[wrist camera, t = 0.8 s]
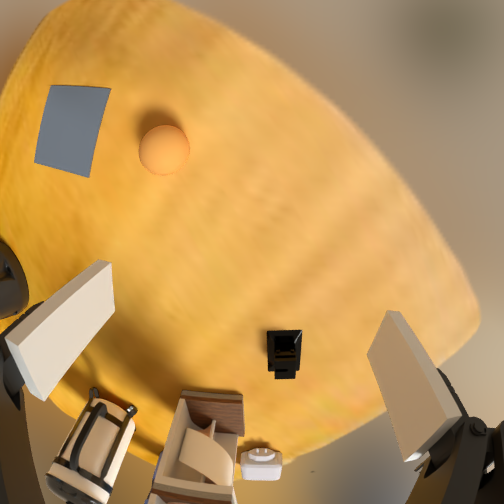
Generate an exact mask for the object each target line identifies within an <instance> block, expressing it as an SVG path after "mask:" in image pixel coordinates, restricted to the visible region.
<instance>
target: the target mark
mask: <svg viewBox="0 0 504 504" xmlns="http://www.w3.org/2000/svg"><path fill="white" fill-rule="evenodd" d="M110 90H111V89H107V88H96V87H82V86H55V85H51V87H50V90H49V94H48V97H47V101H46V105H45V109H44V113H43V117H42V121H41V126H40V131H39V136H38V141H37V147H36V153H35V160H34V163H38V164H41V165H45V166H49V167H52V168H56V169H59V170H63V171H67V172H70V173H74V174H77V175H81V176H84V177H88V178H89V175H90V169H91V164H92V159H93V154H94V149H95V145H96V141H97V136H98V132H99V128H100V124H101V121H102V117H103V113H104V110H105V106H106V103H107V100H108V97H109V94H110Z"/></svg>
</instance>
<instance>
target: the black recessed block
mask: <svg viewBox="0 0 504 504" xmlns="http://www.w3.org/2000/svg"><path fill="white" fill-rule="evenodd" d="M301 342H302V330H280V331H267V352H268V371H269V372H270V371H275V379H295V376H296V371H299V369H300V356H301Z"/></svg>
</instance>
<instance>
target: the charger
mask: <svg viewBox="0 0 504 504" xmlns="http://www.w3.org/2000/svg"><path fill="white" fill-rule="evenodd" d="M240 466H241V472H242V478H243V479H246V480H277V479H279V478H280V475H281V469H282V453H280V452H274V451H273V450H270V449H268V448H255V449H252V450H250V451H246V452H242V453H241V462H240Z"/></svg>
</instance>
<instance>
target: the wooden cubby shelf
mask: <svg viewBox="0 0 504 504" xmlns="http://www.w3.org/2000/svg"><path fill="white" fill-rule="evenodd" d="M244 433H245V422H244V405H243V395H232V394H217V393H205V392H195V391H187V390H182V393H181V396H180V399H179V402H178V406H177V409H176V412H175V415H174V418H173V421H172V424H171V428H170V431H169V434H168V437H167V441H166V444H165V447H164V450H163V454H162V457H161V460H160V463H159V467H158V470H157V473H156V477H155V480H154V484H153V487H152V490H151V494H150V497H149V501H148V504H237V501H236V497H235V492H234V488H233V479H234V470H235V461H236V452H237V443H238V436H242V437H244Z"/></svg>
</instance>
